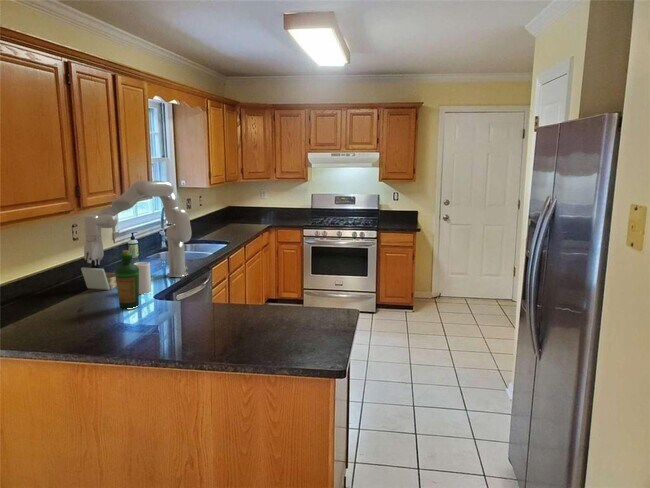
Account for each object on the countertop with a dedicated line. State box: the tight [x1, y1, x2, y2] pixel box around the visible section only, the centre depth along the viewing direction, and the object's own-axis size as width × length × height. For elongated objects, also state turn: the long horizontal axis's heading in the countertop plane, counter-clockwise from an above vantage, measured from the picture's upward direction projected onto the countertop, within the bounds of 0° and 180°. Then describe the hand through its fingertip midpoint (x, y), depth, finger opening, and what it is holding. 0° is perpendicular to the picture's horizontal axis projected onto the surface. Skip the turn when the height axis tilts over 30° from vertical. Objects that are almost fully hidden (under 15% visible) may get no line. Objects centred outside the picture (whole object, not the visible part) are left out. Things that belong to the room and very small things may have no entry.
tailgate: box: [80, 266, 111, 291], centre depth 246 cm, size 1×13×14 cm, turn 80°
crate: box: [105, 272, 117, 290], centre depth 256 cm, size 12×13×6 cm
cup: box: [133, 261, 152, 295], centre depth 246 cm, size 8×8×16 cm
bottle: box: [114, 249, 140, 310], centre depth 219 cm, size 11×11×28 cm
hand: (95, 271), depth 246 cm, fingers closed
